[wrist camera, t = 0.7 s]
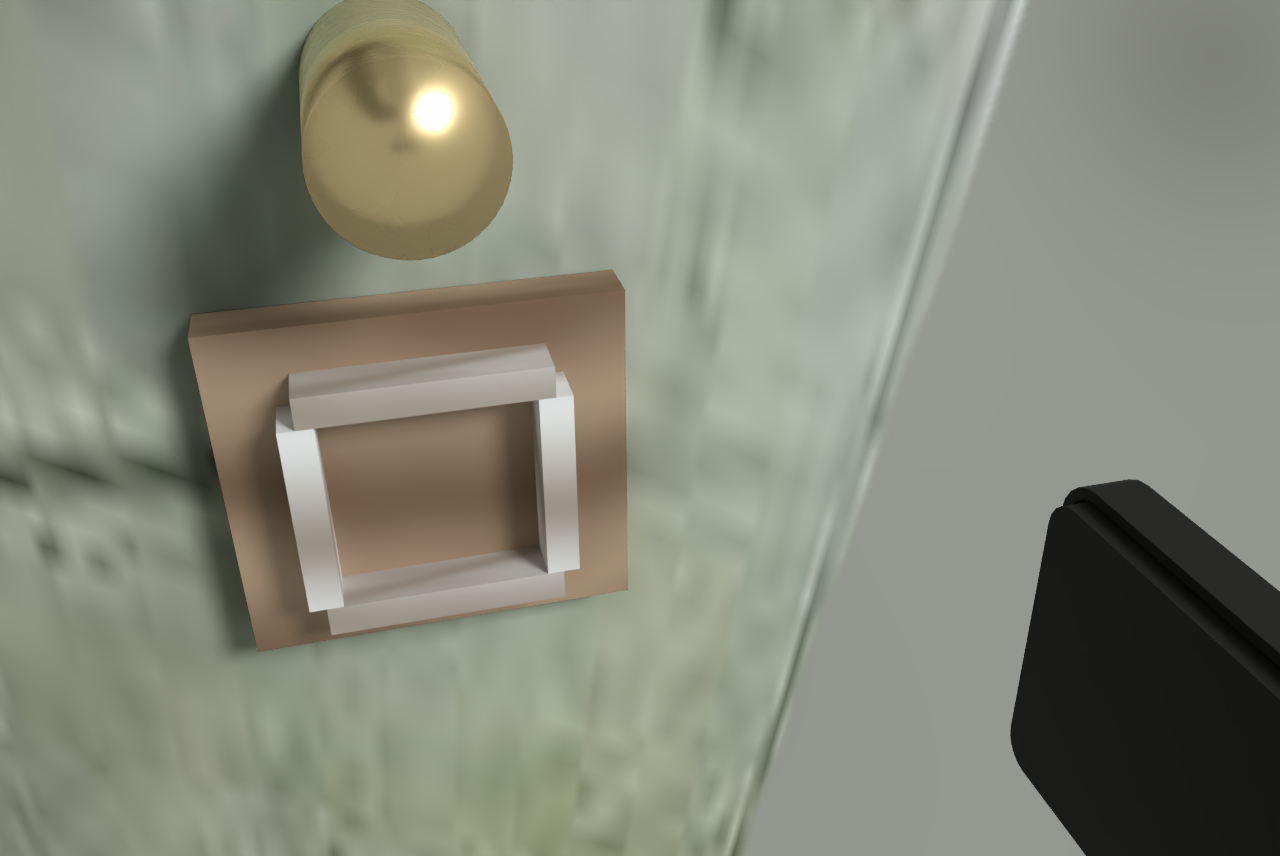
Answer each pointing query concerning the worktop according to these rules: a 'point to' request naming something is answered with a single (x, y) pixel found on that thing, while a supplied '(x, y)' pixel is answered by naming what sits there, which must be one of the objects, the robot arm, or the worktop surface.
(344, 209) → the cylinder
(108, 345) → the worktop surface
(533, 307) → the fitting board
